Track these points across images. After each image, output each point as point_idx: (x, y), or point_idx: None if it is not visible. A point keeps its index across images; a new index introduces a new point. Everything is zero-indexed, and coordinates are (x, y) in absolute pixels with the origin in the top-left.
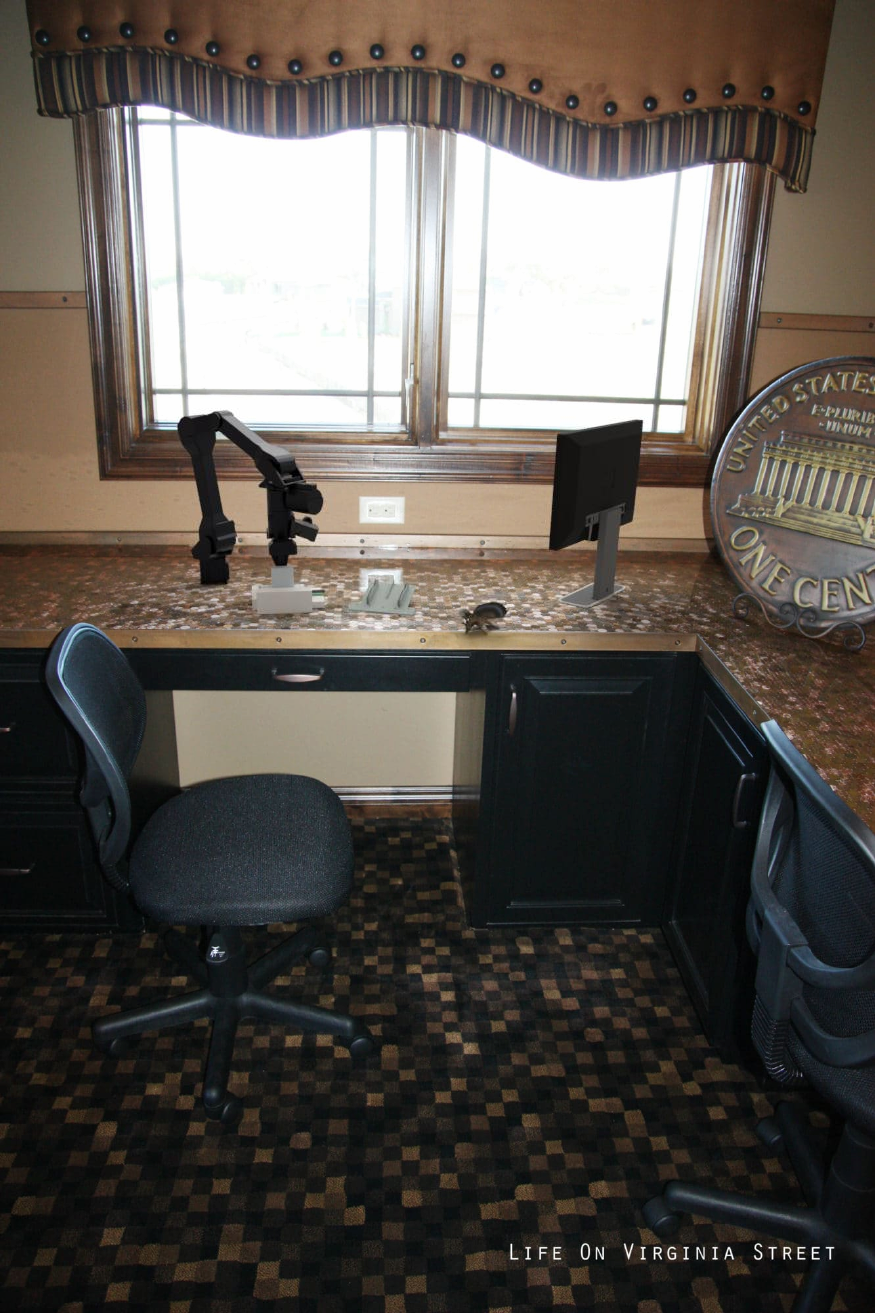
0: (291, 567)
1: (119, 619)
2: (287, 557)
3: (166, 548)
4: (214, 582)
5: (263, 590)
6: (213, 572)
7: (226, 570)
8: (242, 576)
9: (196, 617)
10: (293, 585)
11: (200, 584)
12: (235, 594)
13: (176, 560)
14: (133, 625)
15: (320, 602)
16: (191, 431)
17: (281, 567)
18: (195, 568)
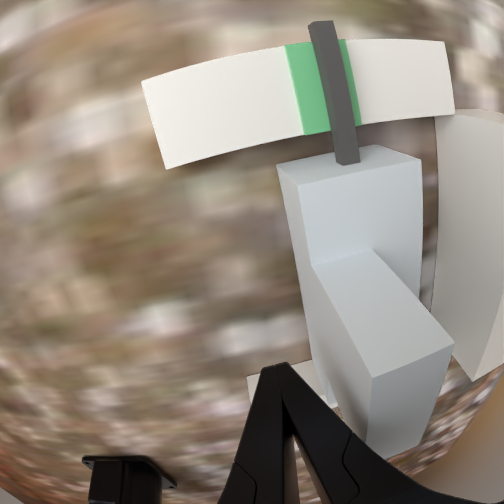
0: (434, 363)
1: (406, 471)
2: (409, 479)
3: (7, 490)
4: (160, 475)
5: (502, 349)
6: (157, 500)
7: (122, 488)
8: (50, 431)
9: (437, 412)
10: (376, 257)
11: (176, 484)
12: (242, 428)
13: (43, 493)
14: (440, 448)
15: (446, 64)
16: None
17: (414, 418)
18: (62, 484)
